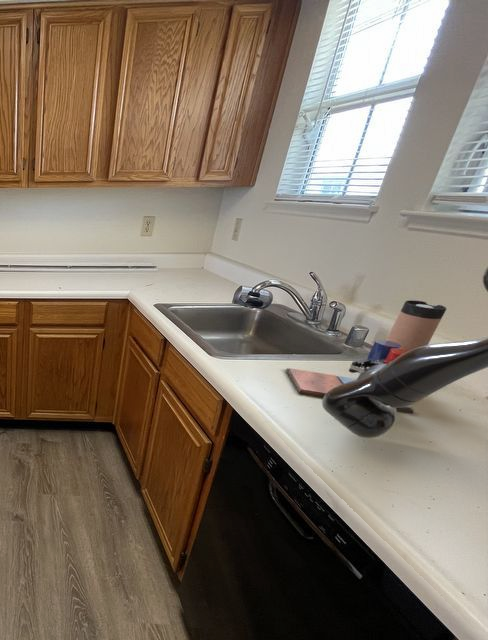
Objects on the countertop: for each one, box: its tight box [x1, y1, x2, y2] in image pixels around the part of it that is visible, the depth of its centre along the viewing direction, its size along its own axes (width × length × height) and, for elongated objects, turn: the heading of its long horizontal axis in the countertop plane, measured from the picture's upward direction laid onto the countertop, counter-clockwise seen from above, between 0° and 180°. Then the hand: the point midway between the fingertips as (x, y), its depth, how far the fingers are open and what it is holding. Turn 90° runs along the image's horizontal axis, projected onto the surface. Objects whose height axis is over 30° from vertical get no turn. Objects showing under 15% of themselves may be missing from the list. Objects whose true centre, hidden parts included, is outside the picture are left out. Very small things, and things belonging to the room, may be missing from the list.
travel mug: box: [385, 299, 447, 351], centre depth 106 cm, size 8×8×20 cm
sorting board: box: [285, 367, 414, 414], centre depth 103 cm, size 22×14×1 cm, turn 68°
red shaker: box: [384, 348, 409, 364], centre depth 95 cm, size 5×5×11 cm
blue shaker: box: [357, 339, 402, 378], centre depth 102 cm, size 5×5×11 cm
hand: (398, 366), depth 96 cm, fingers closed on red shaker, 4 cm apart
